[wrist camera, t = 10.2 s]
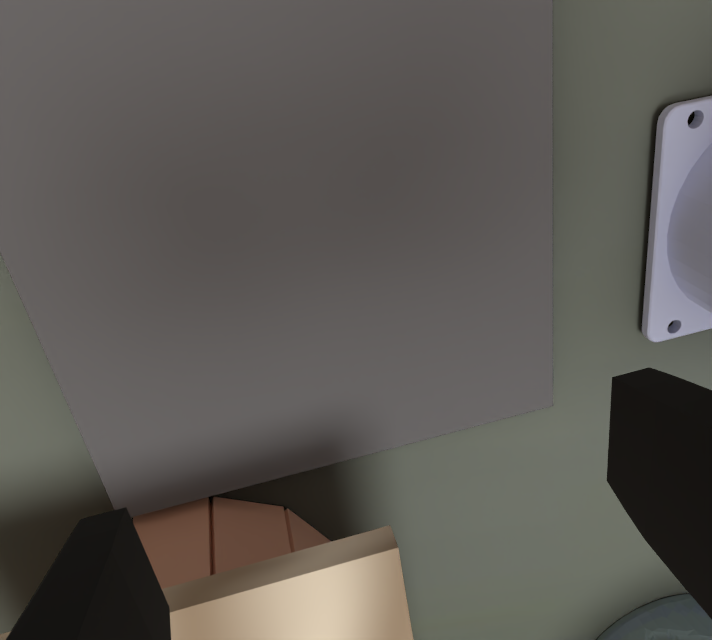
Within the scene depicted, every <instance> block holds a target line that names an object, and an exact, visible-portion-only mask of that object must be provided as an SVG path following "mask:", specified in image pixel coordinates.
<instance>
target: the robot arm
mask: <svg viewBox="0 0 712 640" xmlns="http://www.w3.org/2000/svg"><path fill="white" fill-rule="evenodd" d="M692 112H694V114H695V116H694V119H693V121H692V122H691V124H690V125H688V122H687V121H688V118H689V116H690V114H691V113H692ZM672 321H673V324H672V325H671V326H670V327H668V325H669V324H670V323H671V322H672ZM711 328H712V96H707V97H702V98H697V99H693V100H688V101H683V102H678V103H674V104H671V105H669V106H667V107H666V108H665V109H664V110H663V111H662V113H661V114H660V116H659V118H658V122H657V132H656V145H655V159H654V172H653V185H652V199H651V212H650V226H649V239H648V252H647V266H646V279H645V293H644V306H643V320H642V333H643V335H644V336H645V337H646V338H647V339H649V340H650V341H653V342H661V341H664V340H668V339H672V338H676V337H680V336H684V335H688V334H692V333H696V332H700V331H703V330H707V329H711ZM607 482H608V483H609V485H610V486H611V488H612V490H613V491H614V493H615V494H616V496H617V498H618V499H619V501H620V502H621V504H622V506H623V507H624V509H625V510H626V512H627V514H628V515H629V517H630V518H631V520H632V521H633V523H634V524H635V526H636V527H637V529H638V530H639V532H640V533H641V535H642V536H643V538H644V539H645V540H646V541H647V543H648V544H649V545H650V546H651V548H652V549H653V550H654V551H655V552H656V554H657V555H658V556H659V557H660V559H661V560H662V561H663V562H664V563H665V565H666V566H667V567H668V568H669V569H670V571H671V572H672V573H673V574H674V575H675V577H676V578H677V579H678V580H679V581H680V583H681V584H682V585H683V586H684V587H685V589H686V590H687V591H688V592H689V593H690V595H691V596H692V597H693V598H694V599H695V600H696V602H697V603H698V604H699V605H700V606H701V608H702V609H703V610H704V611H705V612H706V613H707V615H708V616H709V617H710V618H711V619H712V390H709V389H707V388H704V387H701V386H699V385H696V384H694V383H691V382H689V381H686V380H683V379H681V378H678V377H675V376H673V375H670V374H667V373H664V372H661V371H658V370H655V369H652V368H646V369H642V370H638V371H634V372H631V373H627V374H623V375H619V376H616V377H612V392H611V411H610V430H609V449H608V468H607ZM6 640H171V627H170V608H169V605H168V603H167V600H166V598H165V596H164V593H163V591H162V589H161V586H160V584H159V582H158V580H157V577H156V575H155V573H154V570H153V568H152V566H151V563H150V561H149V559H148V556H147V554H146V552H145V549H144V547H143V545H142V542H141V540H140V538H139V535H138V533H137V531H136V528H135V526H134V524H133V522H132V519H131V517H130V515H129V512H128V510H127V508H126V507H125V508H121V509H118V510H114V511H110V512H106V513H103V514H99V515H95V516H91V517H88V518H84V519H81V520H80V521H79V523H78V524H77V526H76V527H75V529H74V530H73V532H72V533H71V535H70V537H69V538H68V540H67V541H66V543H65V545H64V546H63V548H62V549H61V551H60V553H59V554H58V556H57V558H56V559H55V561H54V563H53V564H52V566H51V567H50V569H49V571H48V572H47V574H46V576H45V577H44V579H43V581H42V582H41V584H40V586H39V587H38V589H37V590H36V592H35V594H34V595H33V597H32V599H31V600H30V602H29V603H28V605H27V607H26V608H25V610H24V612H23V613H22V615H21V616H20V618H19V620H18V621H17V623H16V624H15V626H14V627H13V629H12V630H11V632H10V634H9V635H8V637H7V638H6Z"/></svg>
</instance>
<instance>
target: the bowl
mask: <svg viewBox="0 0 712 640" xmlns="http://www.w3.org/2000/svg"><path fill="white" fill-rule="evenodd" d="M132 522H133V524H134V526H135V528H136V531H137V533H138V535H139V538H140V540H141V542H142V545H143V547H144V549H145V552H146V554H147V556H148V559H149V561H150V563H151V566H152V568H153V570H154V573H155V575H156V577H157V580H158V582H159V584H160V586H161V589H164V588H167V587H171V586H175V585H178V584H182V583H185V582H189V581H193V580H196V579H200V578H203V577H207V576H210V575H214V574H218V573H221V572H225V571H228V570H232V569H235V568H239V567H243V566H246V565H250V564H253V563H257V562H260V561H264V560H268V559H271V558H275V557H278V556H282V555H285V554H289V553H293V552H296V551H300V550H303V549H307V548H311V547H314V546H318V545H321V544H325V543H328V542H331V541H330V540H329V539H327V538H326V537H325V536H323V535H322V534H321V533H319V532H318V531H317V530H316V529H314V528H313V527H312V526H310V525H309V524H308V523H306V522H305V521H304V520H302V519H301V518H300V517H298V516H297V515H296V514H294V513H293V512H292V511H290V510H289V509H288V508H287V509H286V510H285V511H284V507H283V506H276V505H269V504H262V503H255V502H248V501H241V500H234V499H227V498H220V497H213V499H212V502H211V504H210V501H209V498H208V497H206V498H203V499H199V500H195V501H191V502H187V503H184V504H180V505H176V506H172V507H169V508H165V509H161V510H157V511H153V512H150V513H146V514H142V515H138V516H135V517H133V521H132Z"/></svg>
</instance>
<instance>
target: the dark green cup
mask: <svg viewBox="0 0 712 640" xmlns="http://www.w3.org/2000/svg"><path fill="white" fill-rule="evenodd" d="M597 640H712V619H711V618H710V617H709V616H708V615H707V613H706V612H705V611H704V610H703V609H702V608H701V606H700V605H699V604H698V603H697V602H696V600H695V599H694V598H693V597H692V596H691V595H690V594H682V595H676V596H671V597H667V598H663V599H660V600H657V601H654V602H652V603H649V604H647V605H645V606H642V607H640V608H638V609H636V610H634V611H632V612H631V613H629V614H628V615H626V616H624V617H623V618H621V619H620V620H618V621H617V622H615V623H614V624H613V625H612V626H610V627H609V628H608V629H607V630H606V631H605V632H603V633H602V634H601V635H600V636H599V638H598V639H597Z"/></svg>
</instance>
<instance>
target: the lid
mask: <svg viewBox="0 0 712 640" xmlns="http://www.w3.org/2000/svg"><path fill="white" fill-rule="evenodd" d="M162 591H163V593H164V596H165V598H166V600H167V603H168V605H169V608H170V627H171V640H413V635H412V629H411V623H410V617H409V611H408V605H407V598H406V592H405V586H404V580H403V574H402V568H401V562H400V556H399V549H398V546H397V543H396V540H395V537H394V535H393V532H392V529H391V527H390V525H389V526H386V527H382V528H378V529H375V530H371V531H368V532H364V533H361V534H357V535H353V536H350V537H346V538H343V539H339V540H336V541H332V542H328V543H325V544H321V545H318V546H314V547H311V548H307V549H303V550H300V551H296V552H293V553H289V554H285V555H282V556H278V557H275V558H271V559H268V560H264V561H260V562H257V563H253V564H250V565H246V566H243V567H239V568H235V569H232V570H228V571H225V572H221V573H218V574H214V575H210V576H207V577H203V578H200V579H196V580H193V581H189V582H185V583H182V584H178V585H175V586H171V587H167V588H164V589H162ZM10 632H11V631H10ZM10 632H7V633H3V634H0V640H6V638H7V637H8V635H9V634H10Z"/></svg>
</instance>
